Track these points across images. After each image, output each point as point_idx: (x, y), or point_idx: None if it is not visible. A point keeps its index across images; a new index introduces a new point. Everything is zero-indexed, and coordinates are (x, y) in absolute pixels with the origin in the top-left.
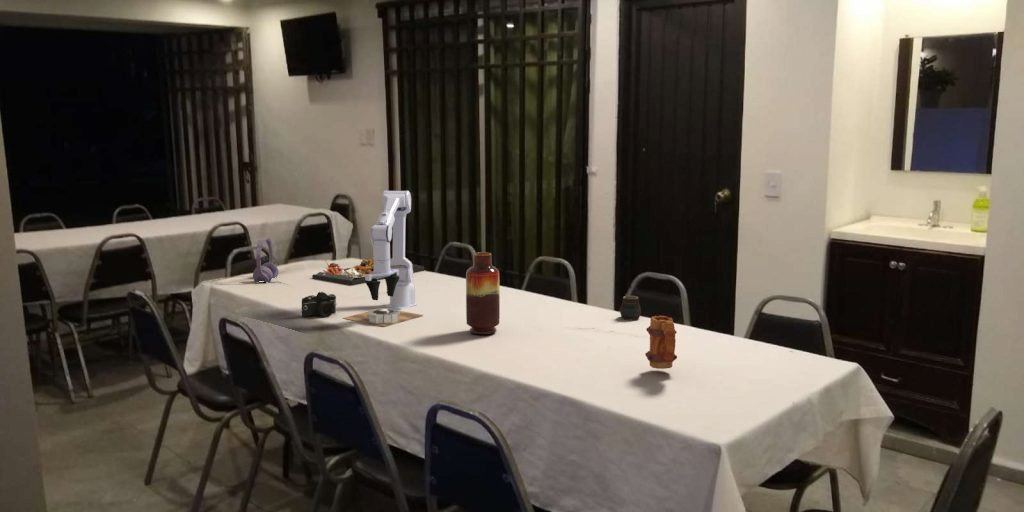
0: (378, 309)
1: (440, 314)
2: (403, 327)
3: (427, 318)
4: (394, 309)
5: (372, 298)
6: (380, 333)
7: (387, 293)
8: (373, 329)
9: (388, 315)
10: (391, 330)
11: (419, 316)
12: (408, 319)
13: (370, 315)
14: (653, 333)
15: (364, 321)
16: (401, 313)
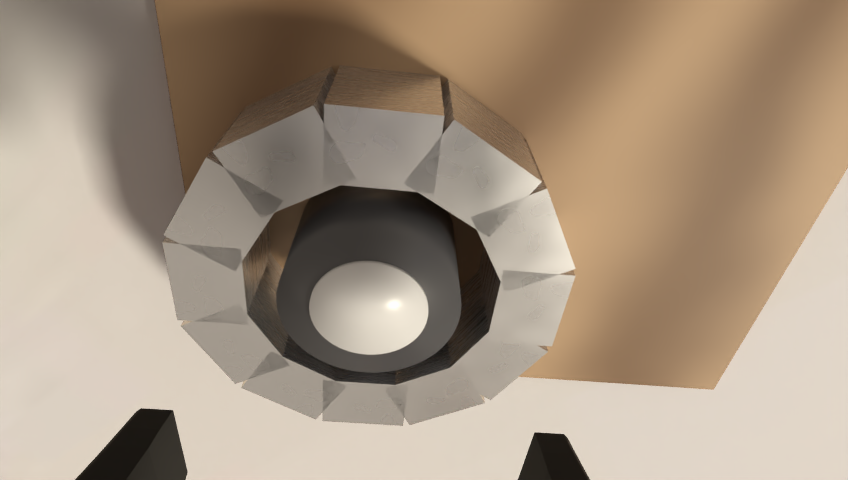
0: (375, 240)
1: (796, 439)
2: (306, 445)
3: (636, 434)
4: (534, 330)
5: (123, 435)
6: (64, 423)
7: (546, 466)
8: (93, 330)
9: (289, 401)
10: (183, 432)
11: (665, 382)
12: (527, 373)
13: (171, 253)
14: None
15: (196, 107)
16: (732, 217)
